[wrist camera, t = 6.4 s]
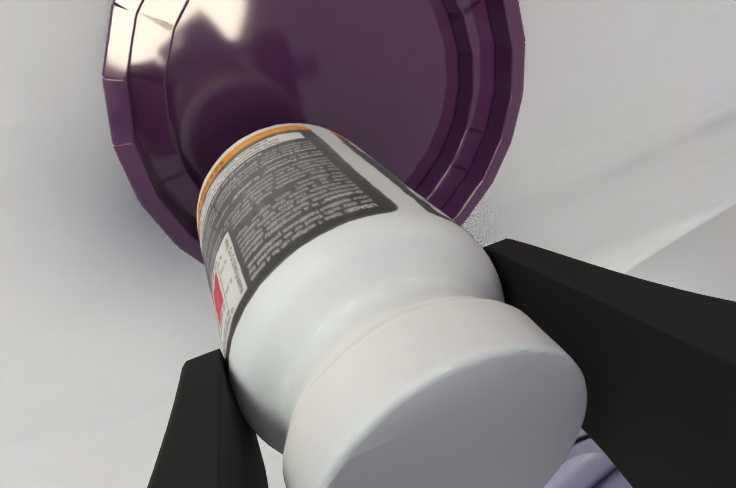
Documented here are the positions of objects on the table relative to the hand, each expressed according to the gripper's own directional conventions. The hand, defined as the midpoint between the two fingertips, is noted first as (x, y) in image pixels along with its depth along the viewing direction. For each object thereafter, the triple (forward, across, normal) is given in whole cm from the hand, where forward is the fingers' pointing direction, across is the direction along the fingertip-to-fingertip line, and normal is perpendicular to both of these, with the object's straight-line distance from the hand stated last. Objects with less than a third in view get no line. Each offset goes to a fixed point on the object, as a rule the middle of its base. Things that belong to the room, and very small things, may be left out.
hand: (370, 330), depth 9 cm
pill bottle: (+7, 0, 0) cm, 7 cm away
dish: (+10, -3, -2) cm, 11 cm away
